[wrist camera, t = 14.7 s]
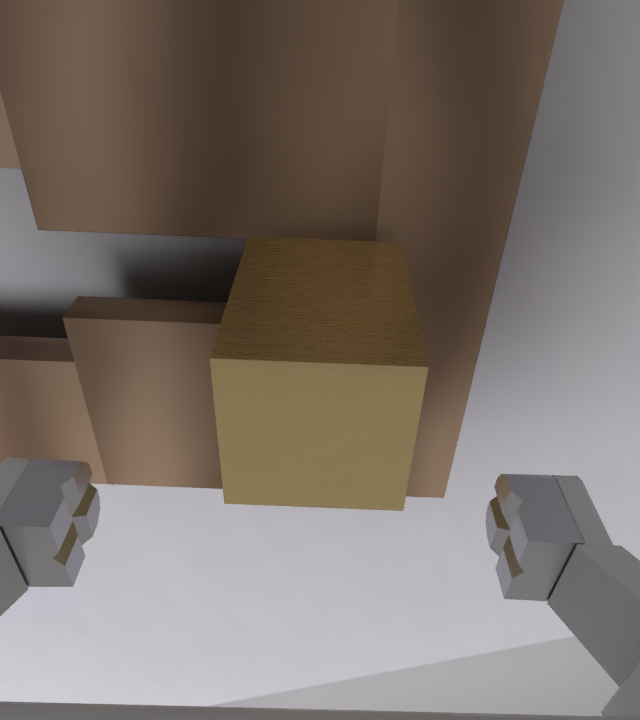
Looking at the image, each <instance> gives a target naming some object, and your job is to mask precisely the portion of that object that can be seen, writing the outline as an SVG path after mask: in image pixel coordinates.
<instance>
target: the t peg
mask: <svg viewBox="0 0 640 720" xmlns="http://www.w3.org/2000/svg"><path fill="white" fill-rule="evenodd" d="M210 368H211V377H212V387H213V397H214V406H215V416H216V426H217V436H218V445H219V455H220V465H221V475H222V484H223V494H224V504H249V505H274V506H298V507H323V508H348V509H373V510H398V511H403V508H404V503H405V497H406V491H407V486H408V480H409V475H410V469H411V463H412V458H413V452H414V447H415V441H416V435H417V430H418V424H419V418H420V413H421V407H422V402H423V396H424V390H425V385H426V379H427V373H428V368H429V367H428V362H427V357H426V353H425V348H424V344H423V339H422V335H421V330H420V325H419V321H418V316H417V312H416V307H415V303H414V298H413V293H412V289H411V284H410V280H409V275H408V271H407V266H406V261H405V257H404V252H403V248H402V243H401V242H376V241H351V240H325V239H299V238H274V237H248V238H247V241H246V244H245V247H244V250H243V254H242V257H241V260H240V263H239V266H238V270H237V273H236V276H235V279H234V282H233V285H232V289H231V292H230V295H229V298H228V301H227V305H226V308H225V311H224V314H223V317H222V320H221V324H220V327H219V330H218V333H217V336H216V340H215V343H214V346H213V349H212V352H211V355H210Z"/></svg>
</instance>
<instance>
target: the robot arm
mask: <svg viewBox="0 0 640 720" xmlns="http://www.w3.org/2000/svg"><path fill="white" fill-rule="evenodd" d="M91 476H92V471H91V468H90V466H89V463H88V462H84V461H68V460H50V459H27V458H7V459H6V460H4V461H3V462H2V463H1V464H0V616H1V615H2V614H3V613H4V612H5V611H6V610H7V609H8V608H9V607H10V606H11V605H12V604H13V603H15V602H16V601H17V600H18V599H19V598H20V597H21V596H22V595H23V594H24V593H25V592H26V591H27V590H28V587H73V586H74V583H75V580H76V578H77V575H78V573H79V570H80V568H81V565H82V563H83V560H84V558H85V554H84V551H83V548H82V545H83V544H84V543H85V542H86V541H88V540H89V539H90V538H91V537H92V536H93V535H94V532H95V529H96V526H97V524H98V518H99V512H100V500H99V495H98V491H97V489H96V488H95V487H93V486H92V485H91V484H90V483H89V481H90V479H91ZM495 490H496V493H497V497H495V498H494V499H492V500H491V501H490V502H489V505H488V509H487V512H486V531H487V538H488V542H489V546H490V548H491V549H492V550H493V551H494V552H495V553H496V554H497V555H498V556H499V560H498V562H497V565H496V571H497V575H498V579H499V582H500V586H501V589H502V593H503V597H504V599H518V600H536V601H548V603H547V604H548V605H549V606H550V607H551V608H552V609H553V611H554V612H555V613H556V614H557V615H558V616H559V618H560V619H561V620H562V621H563V622H564V623H565V625H566V626H567V627H568V628H569V629H570V630H571V631H572V633H573V634H574V635H575V636H576V637H577V638H578V640H579V641H580V642H581V643H582V644H583V645H584V647H585V648H586V649H587V650H588V651H589V652H590V653H591V655H592V656H593V657H594V658H595V659H596V660H597V662H598V663H599V664H600V665H601V666H602V667H603V669H604V670H605V671H606V672H607V673H608V674H609V676H610V677H611V678H612V679H613V680H614V681H615V683H616V684H617V685H618V686H619V689H618V690H617V691H616V693H615V694H614V695H613V697H612V698H611V699H610V701H609V702H608V703H607V705H606V706H605V707H604V709H603V710H602V712H601V713H602V716H561V715H521V714H483V713H444V712H443V713H442V712H404V711H403V712H401V711H365V710H326V709H286V708H245V707H205V706H164V705H123V704H82V703H42V702H1V701H0V720H640V561H639V560H638V559H637V558H636V557H634V556H633V555H632V554H631V553H629V552H628V551H627V550H626V549H624V548H623V547H622V546H616V545H613V543H612V541H611V539H610V537H609V535H608V533H607V531H606V529H605V527H604V525H603V523H602V521H601V519H600V517H599V515H598V513H597V510H596V508H595V506H594V504H593V502H592V500H591V498H590V496H589V494H588V492H587V490H586V488H585V486H584V484H583V482H582V480H581V479H580V478H579V477H578V476H560V475H551V476H550V475H526V474H501V475H500V476H499V477H498V478H497V481H496V484H495Z"/></svg>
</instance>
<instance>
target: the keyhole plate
mask: <svg viewBox="0 0 640 720" xmlns="http://www.w3.org/2000/svg"><path fill="white" fill-rule="evenodd" d="M563 1H564V0H0V168H21V169H22V172H23V176H24V180H25V183H26V187H27V191H28V194H29V198H30V202H31V205H32V209H33V213H34V216H35V220H36V224H37V227H38V230H51V231H76V232H100V233H125V234H149V235H174V236H198V237H223V238H248V237H274V238H299V239H325V240H351V241H376V242H401V243H402V248H403V252H404V257H405V261H406V266H407V271H408V275H409V280H410V284H411V289H412V293H413V298H414V303H415V307H416V312H417V316H418V321H419V325H420V330H421V335H422V339H423V344H424V348H425V353H426V357H427V362H428V367H429V368H428V373H427V379H426V385H425V390H424V396H423V402H422V407H421V413H420V418H419V424H418V430H417V435H416V441H415V447H414V452H413V458H412V463H411V469H410V475H409V480H408V486H407V491H406V496H412V497H436V498H444V495H445V491H446V487H447V482H448V478H449V474H450V470H451V466H452V462H453V458H454V453H455V449H456V445H457V441H458V437H459V433H460V428H461V424H462V420H463V416H464V412H465V408H466V404H467V399H468V395H469V391H470V387H471V383H472V379H473V374H474V370H475V366H476V362H477V358H478V354H479V350H480V345H481V341H482V337H483V333H484V329H485V325H486V320H487V316H488V312H489V308H490V304H491V300H492V296H493V291H494V287H495V283H496V279H497V275H498V271H499V267H500V262H501V258H502V254H503V250H504V246H505V242H506V237H507V233H508V229H509V225H510V221H511V217H512V213H513V208H514V204H515V200H516V196H517V192H518V188H519V183H520V179H521V175H522V171H523V167H524V163H525V159H526V154H527V150H528V146H529V142H530V138H531V134H532V129H533V125H534V121H535V117H536V113H537V109H538V105H539V100H540V96H541V92H542V88H543V84H544V80H545V75H546V71H547V67H548V63H549V59H550V55H551V51H552V46H553V42H554V38H555V34H556V30H557V26H558V21H559V17H560V13H561V9H562V5H563ZM226 305H227V302H208V301H184V300H160V299H135V298H111V297H86V296H78V297H77V299H76V300H75V301H74V303H73V304H72V305H71V307H70V308H69V309H68V311H67V312H66V313H65V315H64V316H63V317H62V319H63V322H64V326H65V330H66V333H67V337H68V338H44V337H20V336H0V464H1V463H2V462H3V461H4V460H6V459H7V458H27V459H50V460H68V461H84V462H88V463H89V466H90V468H91V471H92V476H91V479H90V481H89V483H96V484H121V485H145V486H169V487H193V488H218V489H223V484H222V475H221V465H220V455H219V445H218V436H217V426H216V416H215V406H214V397H213V387H212V377H211V368H210V355H211V352H212V349H213V346H214V343H215V340H216V336H217V333H218V330H219V327H220V324H221V320H222V317H223V314H224V311H225V308H226Z"/></svg>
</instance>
